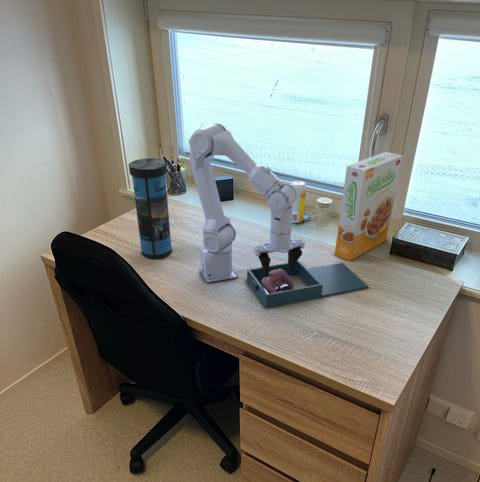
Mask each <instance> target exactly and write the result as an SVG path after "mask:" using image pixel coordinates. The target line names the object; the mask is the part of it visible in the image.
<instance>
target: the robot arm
mask: <svg viewBox="0 0 480 482" xmlns="http://www.w3.org/2000/svg"><path fill="white" fill-rule="evenodd" d="M188 145H189V148H190V149H189V157H188V160H189V164H190V167H191V171H192V175H193V178H194V182H195V185H196V189H197V193H198V198H199V200H200V204H201V207H202V212H203V214H204V218H205V222H204V225H203V228H202V234H203V238H202V243H203V246H204V248H205V249H203V250H201V251H200V255H199V256H200V257H199V259H200V273H201V275H202V277H203V278H204V279H205V282H206V283H213V282H219V281H224V280H230V279H236V278H237V274H236V273H235V272H234V270H233V242H234V241H235V240H236V239H237V232H236V229H235V227H234V226H233V224H232V223H231V219H230V218H229V217H228V216H226V215H225V213H224V210H223V206H222V202H221V197H220V194H219V190H218V186H217V183H216V179H215V175H214V170H213V167H212V164H211V162H212V160H213V159H214V157H215V156H222V157H223V156H224V157H227V158H228V159H229V160H230V161H232V162H233V163H234V164H235V165H236V166H237V167H238V168H240V169H241V170H242V171H243V172H244V173H246V174H247V175H248V180H249V183H250V184H251V185H252V186H253V187H254V188H255V189H256V190H257V191H258V192H259V193H260V194H261V195H262V196H264V198H265V199H266V200H267V205H268V207H269V209H270V223H269V224H270V225H269V226H270V227H269V228H270V229H269V241H268V242H266V243H263V244H260V245H258V246H254V247H253V253H254V255H255V256H256V257H258V259H259V261H260V262H259V263H260V264H261V267H262V268H263V274H264V275H265V277H268V276H269V266H270V263H271V260H272V259H271V257H270V255H269V254H271V253H280V254H281V253H282V254H287V263H288V270H289V272H290V273H292V272H293V270H294V267H295V265H296V262H297V261H299V259H300V258H301V256H303V250H302V249H305V244H306V242H305V241H304V240H303V239H292V237H291V236H292V224H293V223H292V209H293V206H292V204H293V203H294V202H295V200H296V198H297V193H296V190H295V189H294V188H293V186H292V185H291V183H285V182H284V181H283V180H281V179H279V177H277V175H276V174H274V173H273V172H272V169H271V167H269V166H266V165H264V164H257V163H256V162H255V160H253V158H252V157H251V156H250V155H249V154H248V153H247V152H246V151H245V150H244V149H243V148H242V146H241V145H240V144H239V143H238V142H237V140H235V138H234V135H233V133H232V132H231V131H230V130H228V129H227V128H226V127H225V126H224V125H223V124H222V123H219V122H215V123H212V124H211V125H208V126H205V127H204V128H201V129H196V130H195V131H193V133H192V135H191V136H190V138H189V139H188Z"/></svg>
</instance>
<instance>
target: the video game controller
mask: <svg viewBox="0 0 480 482" xmlns="http://www.w3.org/2000/svg"><path fill="white" fill-rule="evenodd" d="M261 281H262V286H263V287H264V288H265V290H266V291H267V292H268V294H270V293H275V292H276V291H275V290H276V287H281V286H282V281H284V282H285V283H286V284H287V285H288V286H290V287H291V288H292V287H294V281H293V279H292V277H290V275H288V274H287V273H286V272H285V271H284V270H283V269H275V270H272V271H270V272H269V276H268V277H264V278H263V279H262V280H261ZM273 282H275V284H274V283H273Z"/></svg>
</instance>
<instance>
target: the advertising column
mask: <svg viewBox="0 0 480 482" xmlns="http://www.w3.org/2000/svg"><path fill="white" fill-rule="evenodd" d="M167 166H168V165H167V162H166V161H165V160H163V159H160V158H139V159H135V160H133V161H130V162H129V164H128V171H129V175H130V176H131V179H132V186H133V194H134V195H133V196H134V203H135V209H136V210H135V211H136V218H137V226H138V233H139V243H140V251H141V256H142V257H144V258H145V259H149V260H161V259H165V258H167V257H169V256H170V255H171V254H172V249H173V248H172V239H171V238H172V237H171V227H170V226H171V225H170V214H169V202H168V188H167V179H166V174H167V172H168V168H167Z"/></svg>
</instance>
